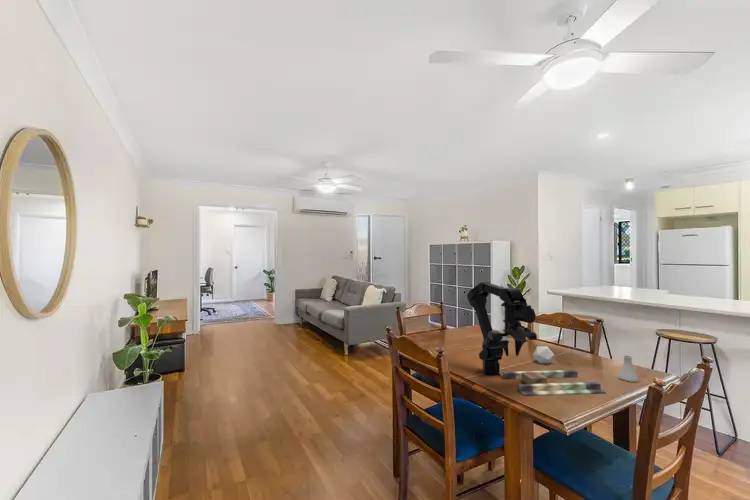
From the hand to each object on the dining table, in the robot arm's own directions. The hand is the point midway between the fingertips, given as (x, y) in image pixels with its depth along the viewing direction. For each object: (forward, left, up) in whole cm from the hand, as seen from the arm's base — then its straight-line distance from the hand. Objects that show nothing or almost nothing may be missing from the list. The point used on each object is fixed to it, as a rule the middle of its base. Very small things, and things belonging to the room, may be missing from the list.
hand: (512, 355), depth 142 cm
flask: (+52, +2, -12) cm, 54 cm away
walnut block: (+9, 0, -12) cm, 16 cm away
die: (+28, +26, -12) cm, 40 cm away
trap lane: (+16, 0, -12) cm, 20 cm away
